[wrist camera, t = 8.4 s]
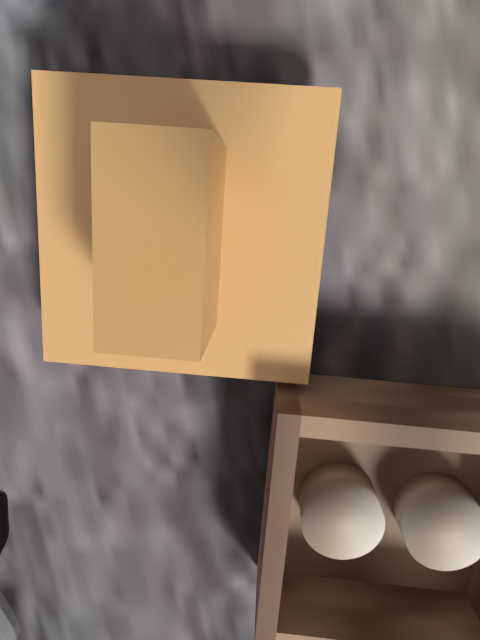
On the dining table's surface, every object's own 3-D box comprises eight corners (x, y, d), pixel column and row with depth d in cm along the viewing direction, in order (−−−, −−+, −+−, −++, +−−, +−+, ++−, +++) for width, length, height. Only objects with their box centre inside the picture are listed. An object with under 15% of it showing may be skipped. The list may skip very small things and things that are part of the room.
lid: (334, 100, 16) (368, 44, 10) (304, 367, 18) (319, 439, 13) (56, 84, 16) (-55, 21, 11) (64, 346, 19) (-23, 406, 13)
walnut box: (519, 393, 19) (584, 442, 15) (470, 591, 21) (515, 677, 17) (276, 371, 19) (277, 413, 15) (257, 567, 22) (254, 646, 18)
